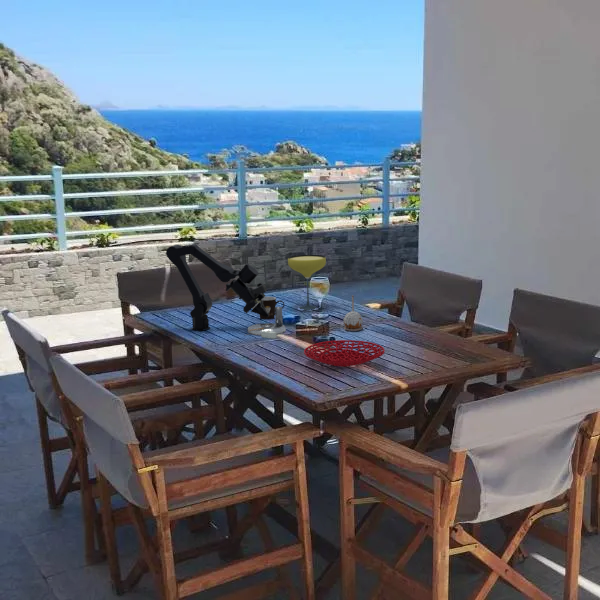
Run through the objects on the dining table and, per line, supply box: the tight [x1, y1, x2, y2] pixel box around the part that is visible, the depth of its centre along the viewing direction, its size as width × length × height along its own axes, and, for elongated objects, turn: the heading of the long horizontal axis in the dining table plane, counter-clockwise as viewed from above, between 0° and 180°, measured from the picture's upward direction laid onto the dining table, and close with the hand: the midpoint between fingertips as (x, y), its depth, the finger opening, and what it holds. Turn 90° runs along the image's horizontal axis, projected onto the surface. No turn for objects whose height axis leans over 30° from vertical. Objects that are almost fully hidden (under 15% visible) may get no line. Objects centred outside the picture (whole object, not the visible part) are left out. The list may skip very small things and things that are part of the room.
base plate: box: [243, 330, 277, 339], centre depth 346 cm, size 20×20×4 cm
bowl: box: [303, 339, 386, 368], centre depth 299 cm, size 30×30×5 cm
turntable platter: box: [247, 306, 287, 337], centre depth 346 cm, size 16×16×10 cm
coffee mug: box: [259, 296, 285, 320], centre depth 371 cm, size 12×9×10 cm
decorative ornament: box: [343, 294, 363, 332], centre depth 348 cm, size 8×8×15 cm
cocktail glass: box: [287, 254, 327, 310], centre depth 391 cm, size 18×18×25 cm
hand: (268, 316), depth 351 cm, fingers closed
